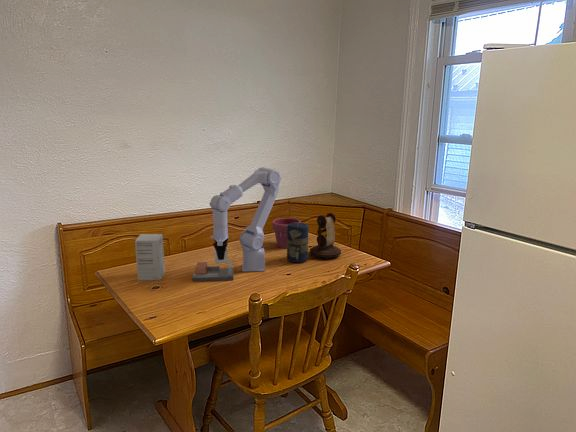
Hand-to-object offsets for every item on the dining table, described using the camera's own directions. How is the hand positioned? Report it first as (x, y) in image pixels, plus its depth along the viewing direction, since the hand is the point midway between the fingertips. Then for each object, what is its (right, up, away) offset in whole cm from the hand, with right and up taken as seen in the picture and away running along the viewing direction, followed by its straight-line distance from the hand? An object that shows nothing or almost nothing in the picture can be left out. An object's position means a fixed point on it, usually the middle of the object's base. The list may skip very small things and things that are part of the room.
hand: (221, 257), depth 183 cm
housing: (0, -2, 0) cm, 2 cm away
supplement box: (-29, -8, +1) cm, 30 cm away
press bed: (-3, -8, +2) cm, 9 cm away
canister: (+32, -3, +22) cm, 38 cm away
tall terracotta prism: (-8, -6, +1) cm, 11 cm away
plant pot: (+26, +2, +43) cm, 50 cm away
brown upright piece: (+45, -2, +29) cm, 53 cm away
